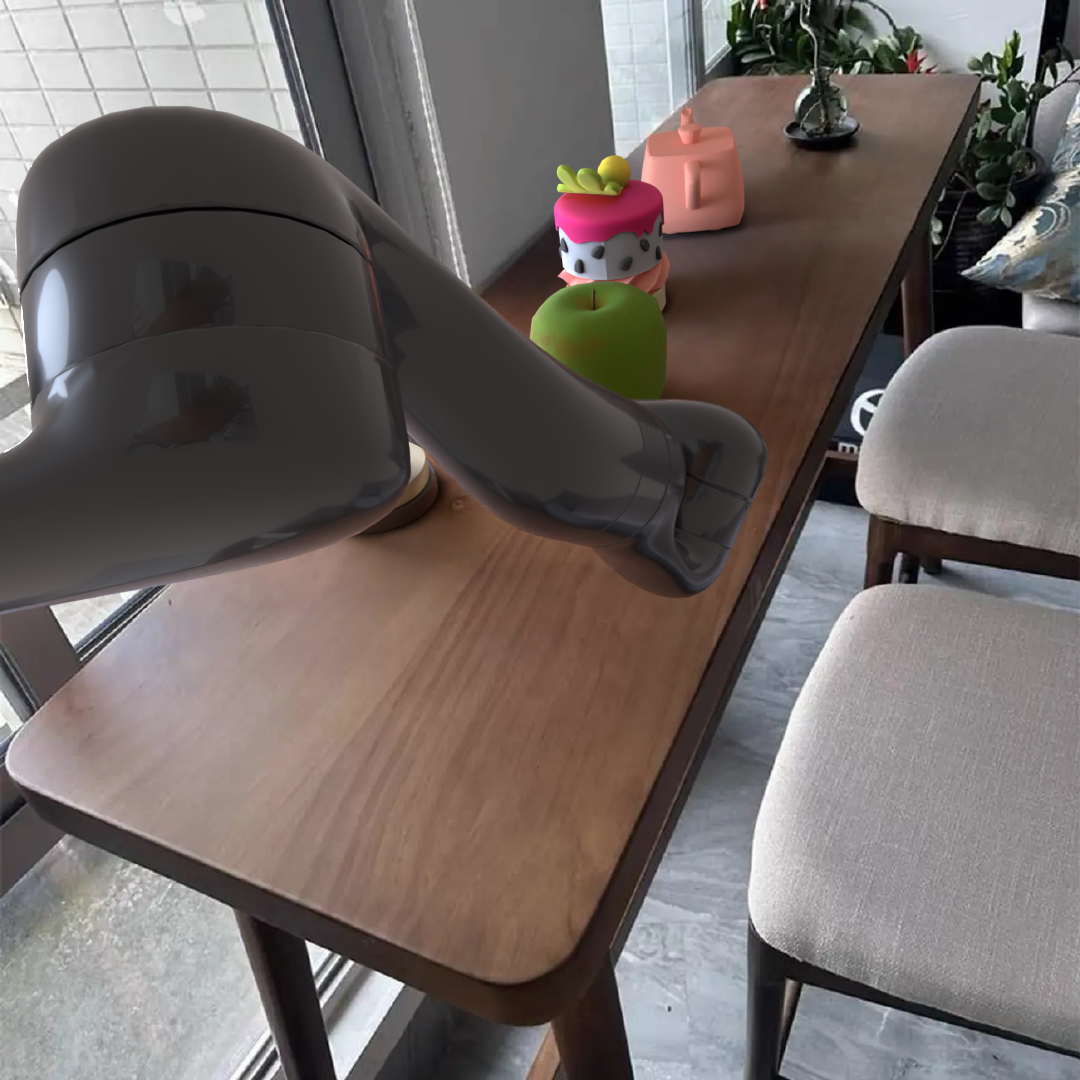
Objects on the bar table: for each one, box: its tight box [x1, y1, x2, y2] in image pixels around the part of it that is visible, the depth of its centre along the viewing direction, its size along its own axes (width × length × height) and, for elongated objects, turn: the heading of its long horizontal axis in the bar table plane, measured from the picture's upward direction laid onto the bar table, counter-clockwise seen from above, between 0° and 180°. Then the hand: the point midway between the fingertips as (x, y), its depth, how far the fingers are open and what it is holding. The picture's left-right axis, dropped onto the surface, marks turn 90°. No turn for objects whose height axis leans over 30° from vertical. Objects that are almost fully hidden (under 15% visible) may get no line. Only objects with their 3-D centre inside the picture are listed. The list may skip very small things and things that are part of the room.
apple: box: [529, 281, 668, 399], centre depth 84 cm, size 11×11×11 cm
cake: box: [553, 154, 671, 312], centre depth 96 cm, size 10×11×15 cm
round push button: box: [359, 442, 439, 534], centre depth 80 cm, size 9×9×3 cm
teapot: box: [640, 107, 745, 235], centre depth 112 cm, size 12×18×10 cm, turn 176°
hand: (323, 341), depth 73 cm, fingers open, 8 cm apart
